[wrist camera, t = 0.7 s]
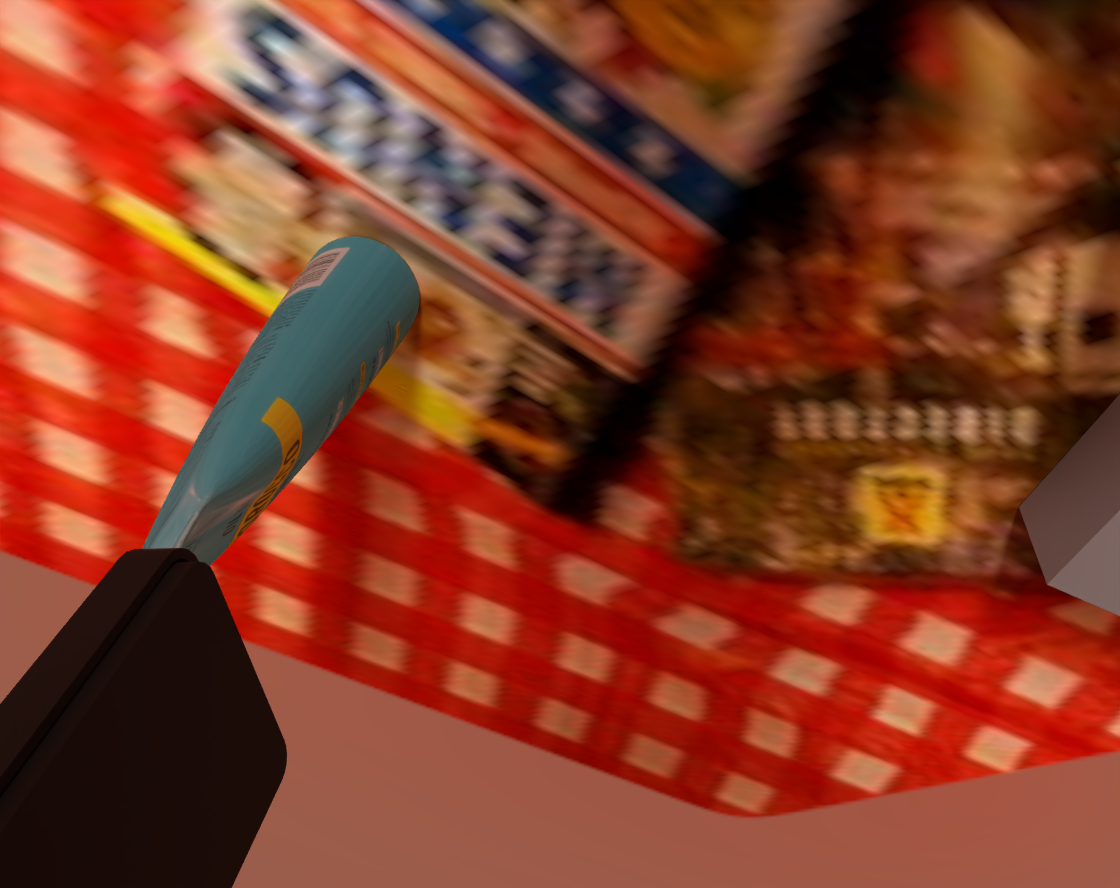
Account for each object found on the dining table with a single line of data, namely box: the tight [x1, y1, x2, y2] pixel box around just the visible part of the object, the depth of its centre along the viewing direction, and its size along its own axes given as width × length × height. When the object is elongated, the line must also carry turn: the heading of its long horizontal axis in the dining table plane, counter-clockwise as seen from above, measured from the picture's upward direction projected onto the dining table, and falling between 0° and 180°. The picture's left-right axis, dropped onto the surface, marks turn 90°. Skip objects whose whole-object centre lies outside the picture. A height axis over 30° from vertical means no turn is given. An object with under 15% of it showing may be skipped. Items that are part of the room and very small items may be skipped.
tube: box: [142, 236, 420, 566], centre depth 34 cm, size 7×5×19 cm, turn 150°
